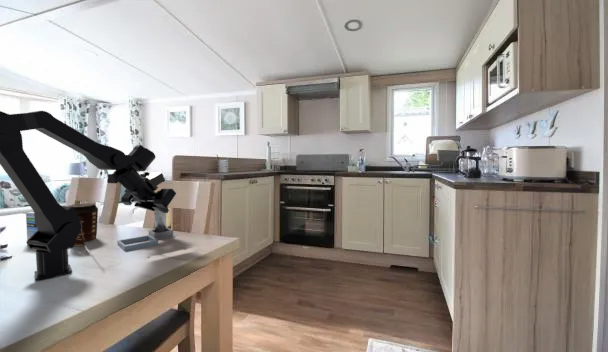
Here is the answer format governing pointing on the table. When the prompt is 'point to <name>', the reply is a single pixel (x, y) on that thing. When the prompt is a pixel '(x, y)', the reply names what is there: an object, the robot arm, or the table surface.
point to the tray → (136, 246)
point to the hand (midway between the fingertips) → (163, 211)
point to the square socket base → (162, 234)
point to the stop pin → (160, 221)
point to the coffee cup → (86, 222)
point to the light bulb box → (30, 224)
